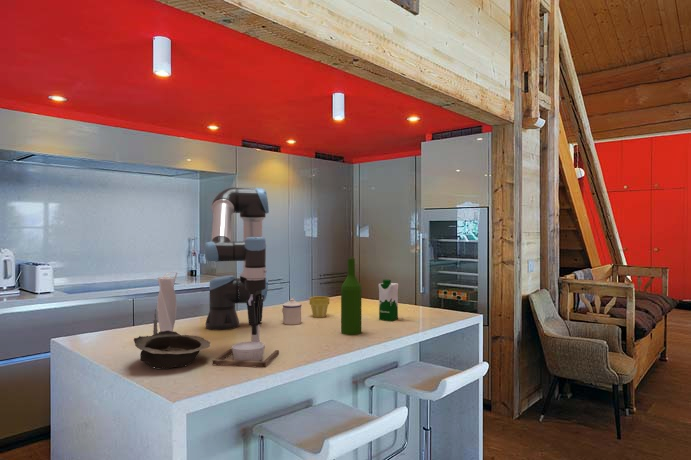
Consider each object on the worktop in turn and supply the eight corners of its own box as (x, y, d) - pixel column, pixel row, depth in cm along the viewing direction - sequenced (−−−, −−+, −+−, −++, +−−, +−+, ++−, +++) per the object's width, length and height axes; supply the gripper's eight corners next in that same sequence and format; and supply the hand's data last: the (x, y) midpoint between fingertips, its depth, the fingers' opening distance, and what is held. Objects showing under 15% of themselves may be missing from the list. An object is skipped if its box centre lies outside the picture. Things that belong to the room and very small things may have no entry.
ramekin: (228, 358, 158) (228, 343, 158) (259, 354, 163) (259, 339, 163) (235, 367, 148) (235, 351, 148) (268, 362, 153) (268, 347, 153)
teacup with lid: (305, 323, 216) (305, 298, 216) (290, 325, 210) (290, 301, 210) (290, 319, 225) (290, 296, 225) (275, 322, 218) (275, 298, 218)
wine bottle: (365, 332, 196) (365, 258, 196) (352, 336, 190) (351, 259, 189) (350, 329, 202) (350, 257, 202) (336, 332, 196) (336, 258, 196)
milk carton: (376, 320, 223) (376, 279, 223) (385, 316, 231) (385, 278, 231) (392, 321, 218) (392, 281, 218) (400, 318, 226) (400, 279, 226)
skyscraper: (172, 336, 190) (172, 270, 190) (180, 340, 184) (180, 272, 184) (152, 340, 184) (152, 272, 184) (160, 343, 178) (160, 273, 178)
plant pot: (311, 314, 238) (311, 295, 238) (330, 314, 237) (330, 296, 237) (307, 318, 228) (307, 298, 228) (327, 318, 227) (327, 299, 227)
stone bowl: (124, 359, 155) (127, 332, 156) (197, 353, 170) (199, 328, 170) (139, 377, 135) (141, 346, 136) (219, 369, 150) (221, 341, 150)
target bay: (212, 364, 150) (212, 360, 150) (230, 352, 165) (230, 348, 165) (265, 367, 147) (265, 362, 147) (278, 354, 162) (278, 350, 162)
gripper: (259, 281, 158) (259, 347, 158) (270, 277, 171) (270, 338, 171) (238, 280, 159) (239, 347, 159) (251, 276, 172) (251, 337, 172)
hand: (255, 342), depth 165 cm, fingers closed
